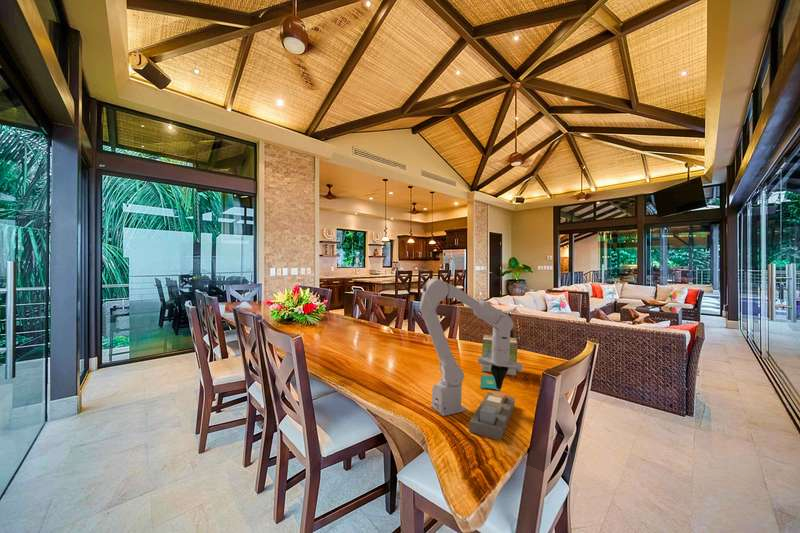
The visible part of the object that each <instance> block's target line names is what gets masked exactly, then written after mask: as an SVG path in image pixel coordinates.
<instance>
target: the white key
mask: <svg viewBox="0 0 800 533" xmlns="http://www.w3.org/2000/svg"><path fill="white" fill-rule="evenodd" d="M486 406H490V407H494V408H497V413H499V414H501V412H502V398H499V397H495V396H490V395H489V397H488V398H487V401H486Z"/></svg>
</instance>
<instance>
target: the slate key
mask: <svg viewBox="0 0 800 533" xmlns="http://www.w3.org/2000/svg"><path fill="white" fill-rule="evenodd" d="M496 421H497V408H494V407H490V406H485V405H483V407H482V408H481V410H480V422H483V423H487V424H491V425H494V426H495V425H496Z"/></svg>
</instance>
